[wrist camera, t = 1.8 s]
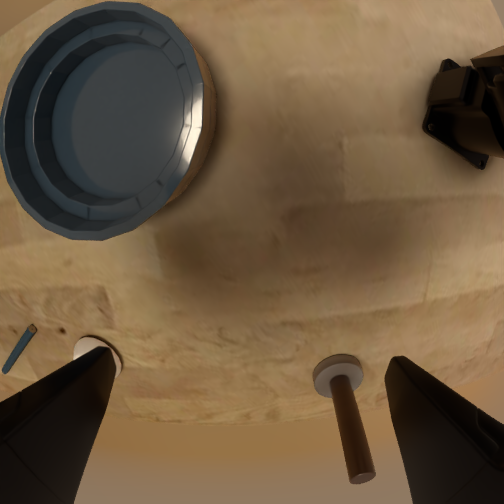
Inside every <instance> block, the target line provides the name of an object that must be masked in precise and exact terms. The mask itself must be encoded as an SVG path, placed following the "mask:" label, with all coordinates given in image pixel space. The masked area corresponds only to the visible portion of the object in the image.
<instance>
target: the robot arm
mask: <svg viewBox="0 0 504 504" xmlns="http://www.w3.org/2000/svg"><path fill="white" fill-rule="evenodd" d="M470 60H471V62H472V64H473V66H474V68H473V67H471V66H465V67H461V66H459V65H458V64H457V63H455V62H454V61H453V60H451V59H445V60H443V62H442V65H441V69H440V72H439V73H437V75H436V78H435V81H434V85H433V88H432V91H431V94H430V98H429V108H428V111H427V114H426V117H425V120H424V122H423V130H424V131H425V132H426V133H427V134H428V135H430V136H432V137H433V138H435V139H436V140H438V141H439V142H441V143H442V144H444V145H445V146H447V147H448V148H450V149H451V150H452V151H454V152H455V153H457V154H458V155H460V156H461V157H462V158H464V159H465V160H466V161H468V162H469V163H470V164H472V165H473V166H474V167H476V168H477V169H480V170H483V169H484V168H485V167H486V164H487V161H488V158H489V155H490V156H495V157H500V158H504V45H503V46H501V47H498V48H496V49H493V50H491V51H488V52H486V53H483V54H481V55H479V56H476V57H474V58H472V59H470ZM448 63H449V64H450V67H449V66H448ZM429 124H430V125H431V130H429V128H428V125H429ZM480 161H481V165H480V164H479V163H480ZM116 370H117V368H116V363H115V360H114V357H113V354H112V351H111V349H110V348H109V347H105V346H97V347H95V348H94V349H92V350H90V351H89V352H87V353H85V354H83V355H82V356H80V357H78V358H77V359H75V360H73V361H71V362H70V363H68V364H66V365H65V366H63V367H61V368H59V369H58V370H56V371H54V372H53V373H51V374H49V375H47V376H46V377H44V378H42V379H40V380H39V381H37V382H35V383H34V384H32V385H30V386H28V387H27V388H25V389H23V390H22V391H20V392H18V393H16V394H14V395H13V396H11V397H9V398H7V399H5V400H4V401H2V402H0V504H74V500H75V497H76V494H77V490H78V488H79V485H80V481H81V478H82V475H83V472H84V469H85V466H86V463H87V461H88V458H89V455H90V452H91V449H92V446H93V444H94V440H95V438H96V435H97V433H98V430H99V427H100V424H101V422H102V419H103V417H104V414H105V411H106V408H107V405H108V401H109V397H110V393H111V390H112V386H113V382H114V379H115V375H116ZM385 386H386V391H387V397H388V402H389V408H390V413H391V419H392V423H393V427H394V430H395V434H396V437H397V441H398V444H399V448H400V452H401V455H402V459H403V463H404V467H405V471H406V475H407V479H408V484H409V488H410V492H411V497H412V501H413V504H504V424H502V423H500V422H499V421H497V420H495V419H494V418H492V417H491V416H489V415H488V414H486V413H485V412H484V411H482V410H481V409H479V408H478V409H477V407H476V406H475V405H474V404H472V403H471V402H469V401H468V400H466V399H465V398H464V397H462V396H461V395H459V394H458V393H456V392H455V391H454V390H452V389H451V388H449V387H448V386H446V385H445V384H444V383H442V382H441V381H439V380H438V379H437V378H435V377H434V376H432V375H431V374H429V373H428V372H427V371H425V370H424V369H422V368H421V367H419V366H418V365H417V364H415V363H414V362H412V361H411V360H409V359H408V358H407V357H405V356H395V357H392V359H391V360H390V363H389V366H388V369H387V371H386V374H385Z"/></svg>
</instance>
